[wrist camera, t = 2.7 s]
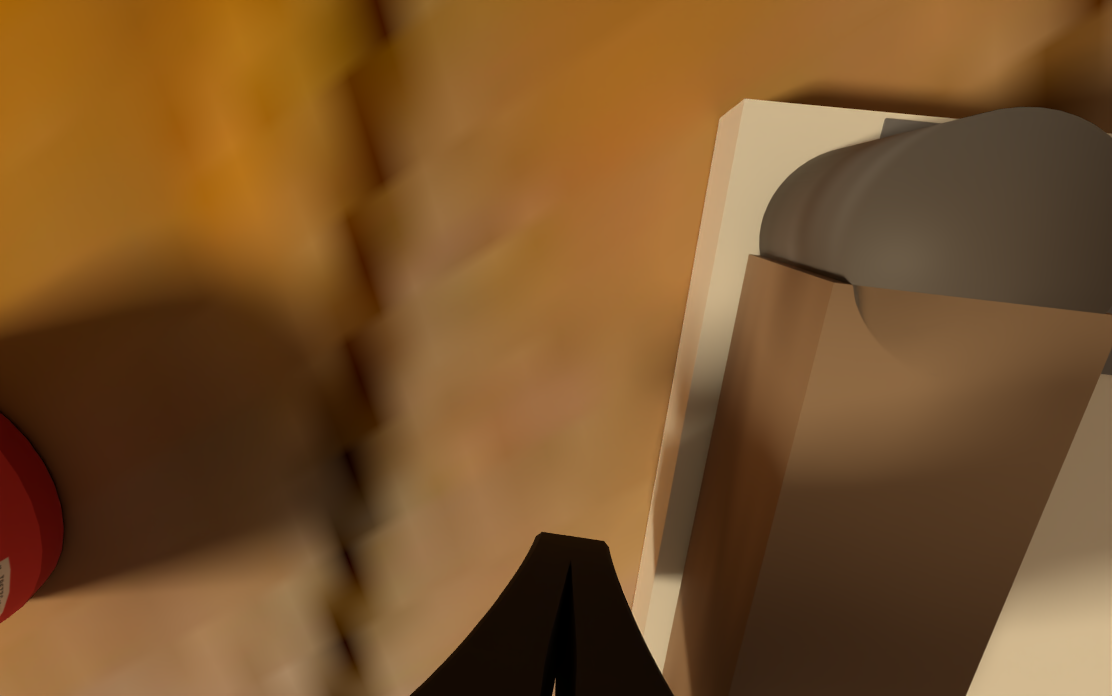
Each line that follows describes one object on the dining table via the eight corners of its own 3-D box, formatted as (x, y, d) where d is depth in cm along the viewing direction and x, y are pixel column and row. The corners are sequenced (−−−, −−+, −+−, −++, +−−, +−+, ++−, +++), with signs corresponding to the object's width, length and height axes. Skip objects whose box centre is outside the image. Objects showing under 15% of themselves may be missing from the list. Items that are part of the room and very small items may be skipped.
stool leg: (773, 138, 8) (881, 92, 5) (962, 156, 8) (1205, 122, 5) (657, 695, 12) (677, 892, 8) (792, 718, 12) (867, 929, 8)
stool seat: (1119, 709, 13) (1208, 796, 11) (628, 630, 14) (632, 699, 12) (1398, 184, 10) (1597, 179, 8) (719, 118, 11) (745, 97, 9)
